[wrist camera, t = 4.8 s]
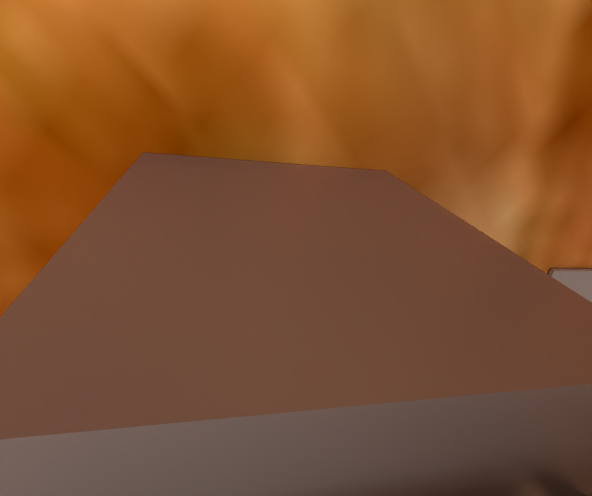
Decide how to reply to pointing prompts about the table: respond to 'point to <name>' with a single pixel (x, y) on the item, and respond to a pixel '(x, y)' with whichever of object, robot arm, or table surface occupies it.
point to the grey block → (290, 346)
